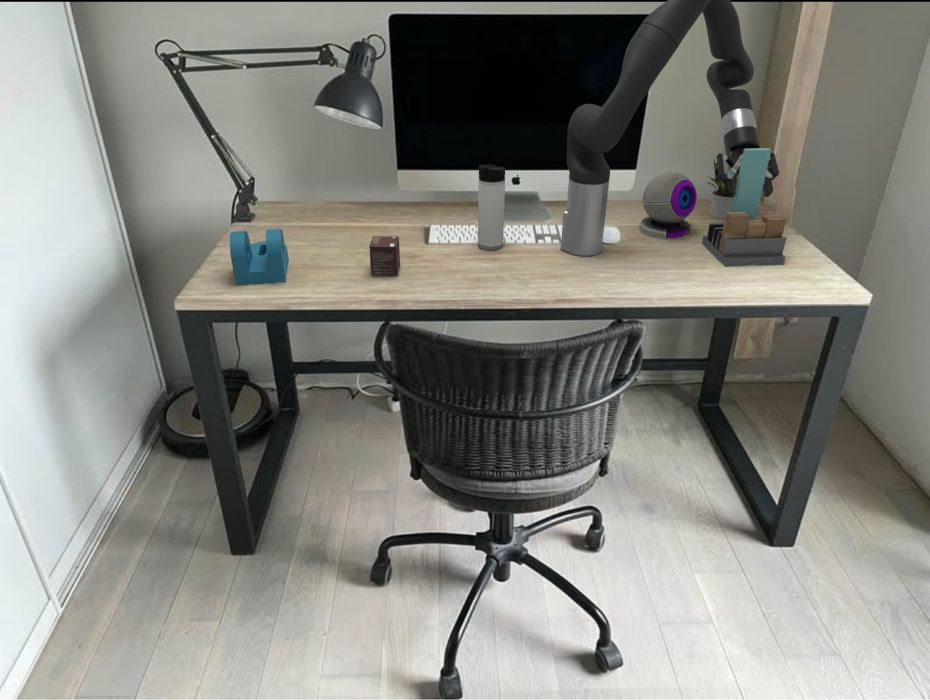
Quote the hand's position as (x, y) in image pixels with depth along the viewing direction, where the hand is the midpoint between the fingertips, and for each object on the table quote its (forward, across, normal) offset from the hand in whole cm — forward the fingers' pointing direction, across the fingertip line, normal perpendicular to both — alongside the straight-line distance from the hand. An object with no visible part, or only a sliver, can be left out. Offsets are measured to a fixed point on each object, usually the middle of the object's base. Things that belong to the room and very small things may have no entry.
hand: (750, 195), depth 159 cm
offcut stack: (+12, 0, +5) cm, 13 cm away
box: (+14, -84, +6) cm, 86 cm away
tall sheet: (+7, 0, +9) cm, 12 cm away
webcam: (-1, -13, +21) cm, 25 cm away
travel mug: (+5, -60, +15) cm, 62 cm away
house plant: (-7, +7, +27) cm, 29 cm away
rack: (+11, 0, +8) cm, 14 cm away
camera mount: (+11, -112, +8) cm, 113 cm away
